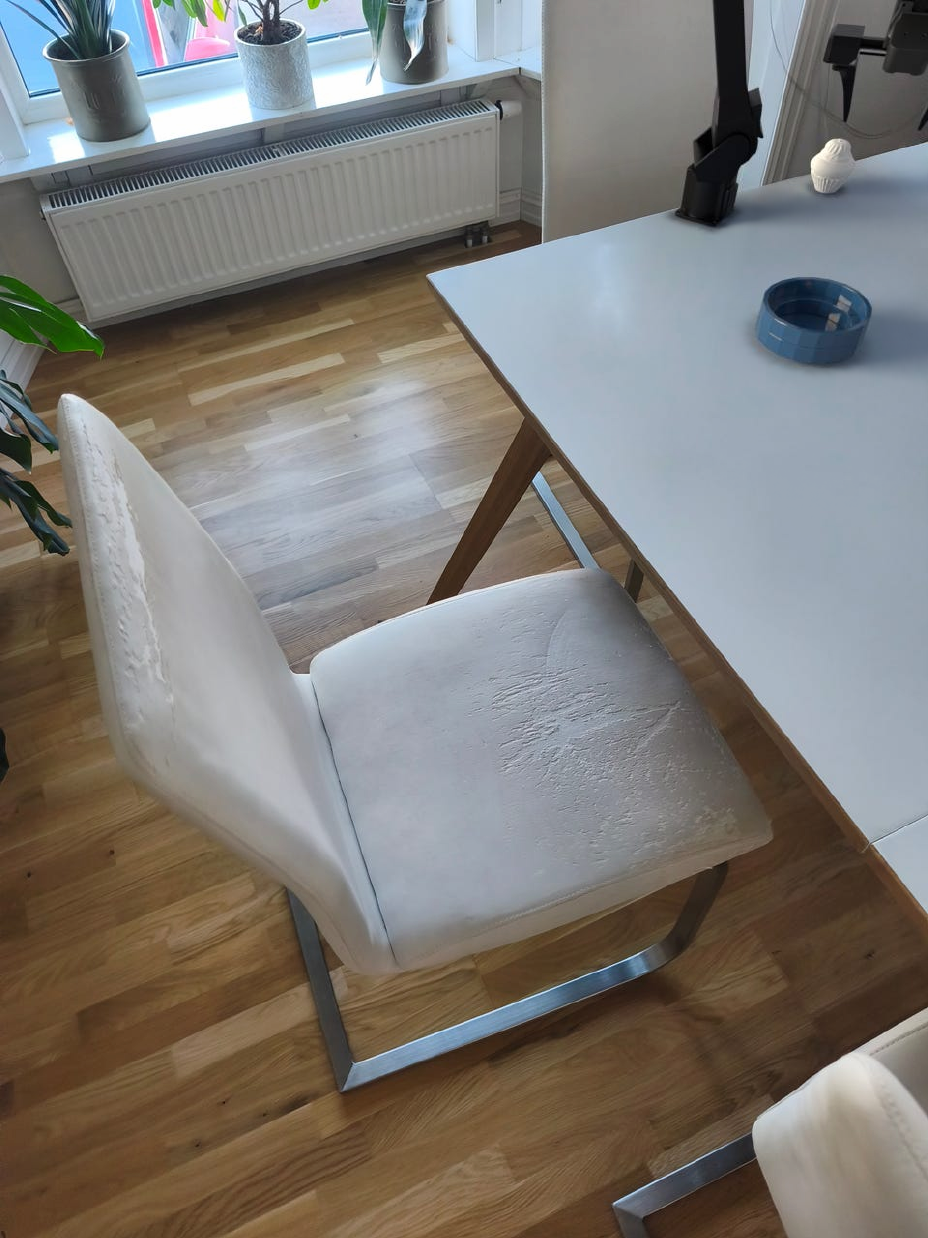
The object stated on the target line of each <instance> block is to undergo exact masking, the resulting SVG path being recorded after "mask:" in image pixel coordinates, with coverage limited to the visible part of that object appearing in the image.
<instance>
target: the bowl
mask: <svg viewBox="0 0 928 1238" xmlns="http://www.w3.org/2000/svg"><path fill="white" fill-rule="evenodd" d="M872 313H873V307H872V305H871V303H870V301H869V299H868V298H867V297H866V296H865V295H864V294H863V293H861V291H859V290H858V289H856V288H854V287H852V286H850V285H848V284H847V283H843V282H841V281H837V280H834V279H830V278H824V277H817V276H796V277H792V278H787V279H786V278H785V279H782V280H780V281H778V282H775V283H773V284H772V285H770V286H769V287H768V288H767V289H766V290H765V291H764V293H763V296H762V300H761V304H760V308H759V312H758V315H757V319H756V323H755V327H754V331H755V335H756V338H757V340H758V341H759V342H760V343H761V345H763V346H764V347H765V349H768V350H769V351H770V352H772V353H774V354H776V355H777V356H780V357H783V358H785V359H788V360H790V361H794V362H799V363H806V364H831V363H836V362H841V361H844V360H846V359H847V358H849V357H851V356H853V355H855V354H856V352H857V351H858V350H859V349H860V348H861V345H862V342H863V340H864V338H865V335H866V332H867V330H868V327H869V324H870V322H871V319H872Z"/></svg>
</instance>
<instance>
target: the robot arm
mask: <svg viewBox="0 0 928 1238" xmlns="http://www.w3.org/2000/svg"><path fill="white" fill-rule="evenodd" d="M711 3H712V15H713V17H712V18H713V35H714V52H715V53H714V55H715V68H716V69H715V70H716V88H715V94H714V101H713V107H712V108H713V109H712V116H711V117H712V118H711V125H710V126H709V127H707V129H705V130H703V132H702V133H701V134H699V135H698V136H697V137H696V138H695V139H693V141H692V149H693V163H692V164H690V165H689V166H688V167H687V168H686V174H685V180H684V187H683V192H682V199H681V205H680V207H679V208H678V209H676V210H675V211H674V216H675V217H678V218H680V219H684V220H688V221H690V222H694V223H697V224H699V225H700V224H701V225H704V226H707V227H710V228H716V227H717V226H718V225H720V224H721V223H722V222H723V221H724V220H725V219H727V217H729V216H730V215H731V214H733V213H734V212H735V209H736V207H735V203H736V200H737V199H736V198H737V195H738V190H739V183H738V182H737V178H738V174H739V170H740V168H742V166H744V165H745V164H746V163H748V162H749V161H750V160H751V159H752V158H753V157H754V155H756V153H757V150H758V146H759V139H761V140H762V139H764V131H763V126H762V121H761V120H762V113H763V102H762V97H761V91H760V87H755V88H753V89H751V90H749V87H748V78H747V77H748V76H747V52H746V51H747V49H746V46H747V45H746V19H745V0H712V2H711ZM830 29H831V30H830V33H829V36H828V40H827V43H826V45H825V46H826V47H825V51H824V54H823V58H822V62H823V63H825V64H832V66H831V70H832V71H834V72H838V73H839V76H840V79H841V85H842V122H843V123H847V122H848V118H849V115H850V111H851V108H852V103H853V96H854V91H855V84H856V80H857V74H858V68H859V63H860V58H861V57H860V56H870V57H871V56H872V57H873V56H874V57H883V58H884V60H883V63H882V71H883V72H884V73H887V74H891V75H893V74H896V73H897V74H898V73H899V74H908V75H911V76H913V77H918V76H922V75H924V74H925V73H926V70H927V68H928V0H896V1H895V4H894V8H893V10H892V15H891V17H890V21H889V24H888V27H887V29H886V30H887V31H886V34H885V37H880V36H879V37H878V36H870V35H864V34H865V30H866V25H860V24H859V25H858V24H846V23H845V24H844V23H837V24H836V25H834V26H833V27H832V28H830ZM927 123H928V101H927V102H926V105H925V107H924V109H923V111H922V114H921V117H920V119H919V123H918V126H917V132H919V131H920V132H921V131H922V129H923V128H924V127H925V126H926V124H927Z"/></svg>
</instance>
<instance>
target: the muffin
mask: <svg viewBox="0 0 928 1238" xmlns="http://www.w3.org/2000/svg"><path fill="white" fill-rule="evenodd" d="M851 145H852V144H851V143H850V142H849V141H848V140H846V139H844V138H833V139H830V140H829V141H827V143H825V145H824V148H822V149H821V150H820V152H819V153H817V154H815V155H814V156H813V157H812V159H811V161H810V168H811V170H810V175H811V178H812V183H813V186H814V189H815V191H817V192H818V193H822V194H833V193H836V192H837V191H838V190H839V189H840V188H841V187H842V186H843V185H844V183H846V181H847V180H848V179H849V178H850V176H851V175H852V173H853V172H854V170H855V168H856V161H855V158H854V157H853V155H852V152H851V149H852V146H851Z"/></svg>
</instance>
